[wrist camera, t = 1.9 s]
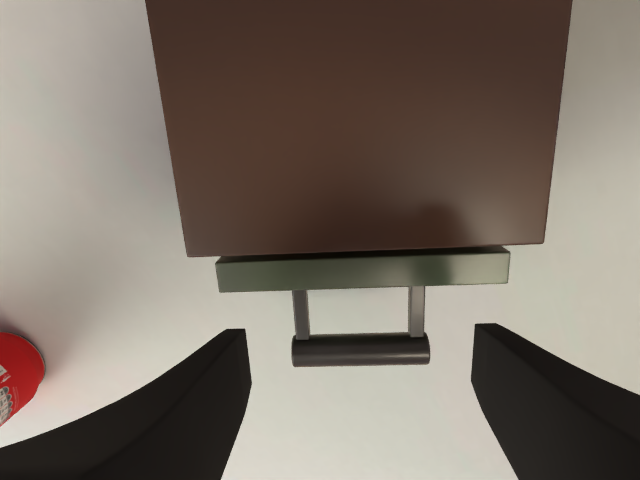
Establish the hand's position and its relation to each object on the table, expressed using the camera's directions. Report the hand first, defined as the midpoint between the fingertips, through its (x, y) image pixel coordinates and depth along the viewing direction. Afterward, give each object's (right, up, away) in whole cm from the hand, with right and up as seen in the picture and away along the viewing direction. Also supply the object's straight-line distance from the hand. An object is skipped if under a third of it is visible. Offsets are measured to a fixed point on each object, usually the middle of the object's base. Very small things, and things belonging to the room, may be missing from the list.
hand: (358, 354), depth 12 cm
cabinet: (0, +12, +6) cm, 14 cm away
